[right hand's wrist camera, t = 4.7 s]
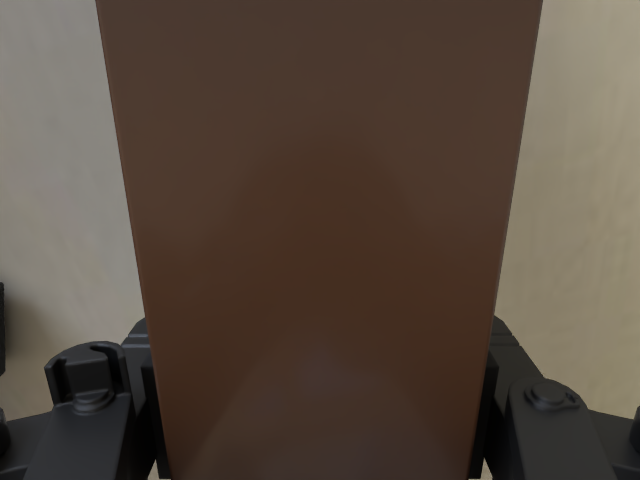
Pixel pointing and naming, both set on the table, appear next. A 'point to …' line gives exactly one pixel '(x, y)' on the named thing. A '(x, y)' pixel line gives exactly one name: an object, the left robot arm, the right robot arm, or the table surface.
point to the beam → (319, 223)
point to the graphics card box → (2, 330)
